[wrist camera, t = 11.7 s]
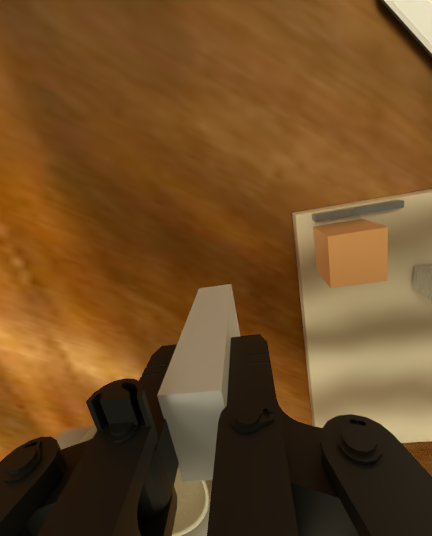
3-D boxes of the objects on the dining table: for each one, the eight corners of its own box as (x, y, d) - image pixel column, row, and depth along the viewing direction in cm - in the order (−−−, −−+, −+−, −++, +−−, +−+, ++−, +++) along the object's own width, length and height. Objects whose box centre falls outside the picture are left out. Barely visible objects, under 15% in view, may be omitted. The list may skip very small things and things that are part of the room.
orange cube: (313, 226, 17) (327, 236, 14) (362, 218, 17) (387, 227, 14) (316, 270, 18) (330, 288, 15) (363, 264, 18) (387, 280, 15)
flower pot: (239, 397, 24) (239, 486, 17) (183, 462, 27) (164, 558, 20) (139, 341, 23) (96, 411, 16) (93, 415, 26) (41, 500, 19)
